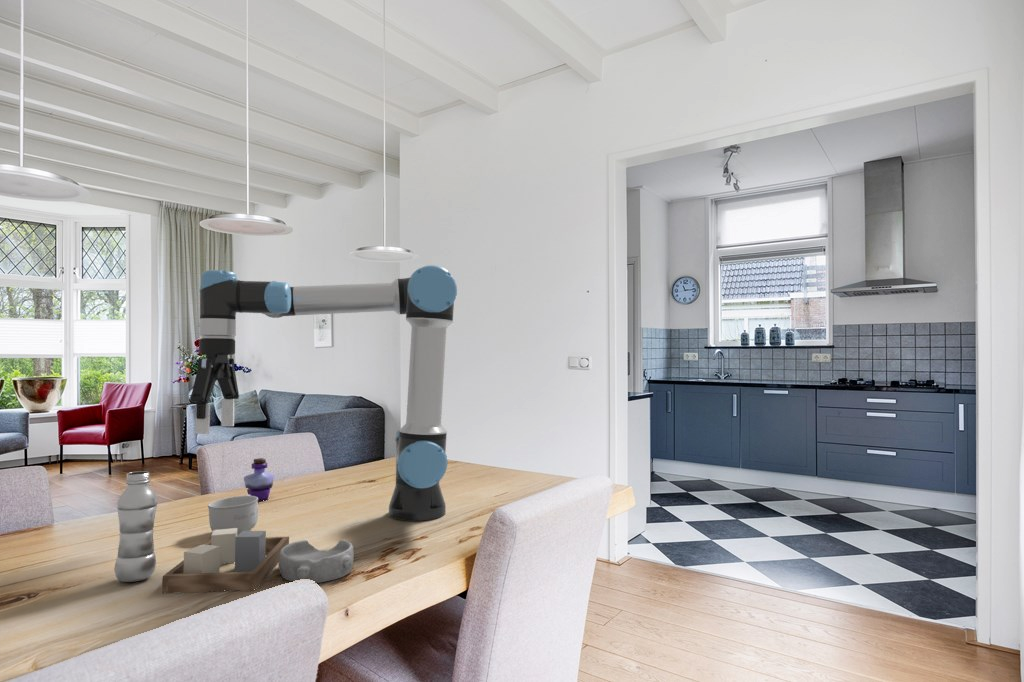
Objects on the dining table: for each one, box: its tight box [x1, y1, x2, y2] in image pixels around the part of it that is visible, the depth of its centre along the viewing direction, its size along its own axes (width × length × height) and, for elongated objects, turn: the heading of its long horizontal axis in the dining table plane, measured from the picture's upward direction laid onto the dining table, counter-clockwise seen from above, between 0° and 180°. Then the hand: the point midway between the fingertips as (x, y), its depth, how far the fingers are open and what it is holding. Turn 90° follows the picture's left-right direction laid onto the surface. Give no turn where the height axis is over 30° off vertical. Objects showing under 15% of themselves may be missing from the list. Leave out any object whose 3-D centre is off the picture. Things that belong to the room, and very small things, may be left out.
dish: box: [278, 539, 355, 584], centre depth 116 cm, size 14×14×5 cm
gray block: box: [234, 530, 267, 572], centre depth 117 cm, size 4×4×7 cm
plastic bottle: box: [113, 470, 159, 583], centre depth 111 cm, size 6×7×20 cm
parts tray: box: [161, 535, 290, 594], centre depth 117 cm, size 16×22×3 cm
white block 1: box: [183, 543, 221, 574], centre depth 111 cm, size 4×4×6 cm
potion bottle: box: [243, 457, 276, 503], centre depth 173 cm, size 9×9×12 cm
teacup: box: [207, 494, 259, 535], centre depth 142 cm, size 14×11×8 cm
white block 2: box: [210, 528, 237, 565], centre depth 122 cm, size 4×4×6 cm
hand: (215, 429), depth 136 cm, fingers open, 13 cm apart
